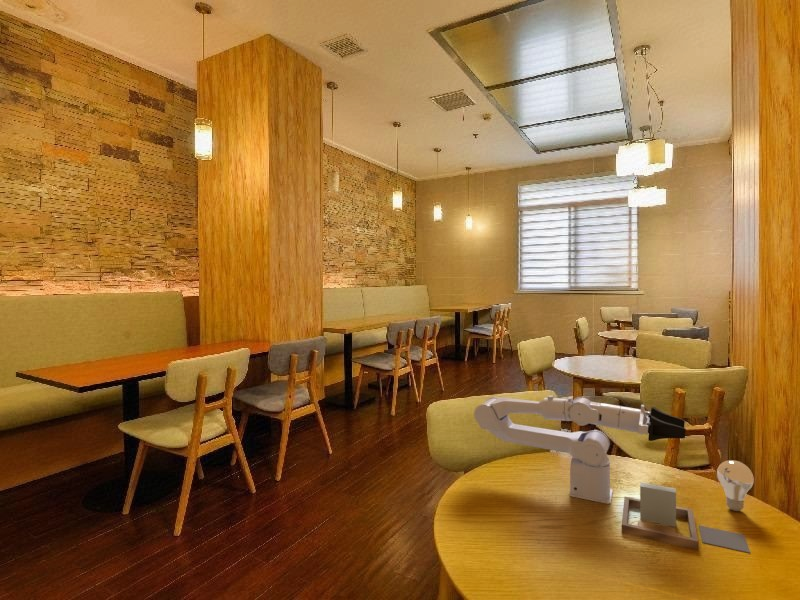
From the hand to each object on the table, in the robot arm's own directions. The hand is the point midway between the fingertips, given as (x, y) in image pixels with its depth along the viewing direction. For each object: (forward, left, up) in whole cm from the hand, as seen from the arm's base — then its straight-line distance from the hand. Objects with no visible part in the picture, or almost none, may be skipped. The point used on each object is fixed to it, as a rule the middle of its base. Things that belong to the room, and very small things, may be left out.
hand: (684, 428), depth 103 cm
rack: (-6, -8, -20) cm, 23 cm away
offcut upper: (-6, -12, -20) cm, 24 cm away
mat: (+6, -8, -20) cm, 23 cm away
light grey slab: (-6, -6, -20) cm, 22 cm away
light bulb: (+10, +7, -21) cm, 24 cm away
